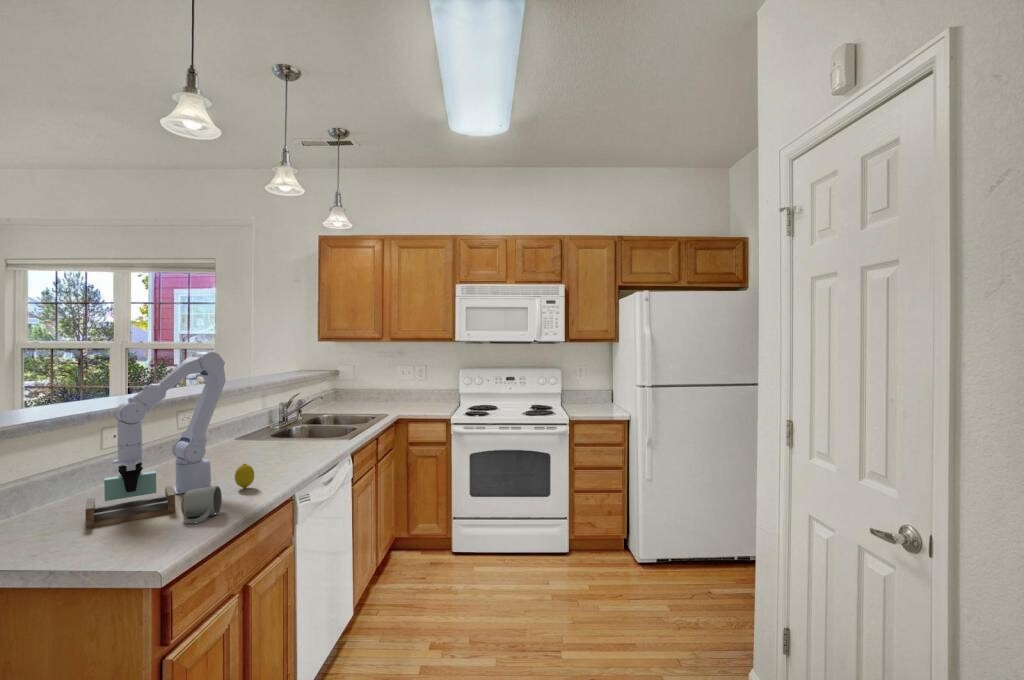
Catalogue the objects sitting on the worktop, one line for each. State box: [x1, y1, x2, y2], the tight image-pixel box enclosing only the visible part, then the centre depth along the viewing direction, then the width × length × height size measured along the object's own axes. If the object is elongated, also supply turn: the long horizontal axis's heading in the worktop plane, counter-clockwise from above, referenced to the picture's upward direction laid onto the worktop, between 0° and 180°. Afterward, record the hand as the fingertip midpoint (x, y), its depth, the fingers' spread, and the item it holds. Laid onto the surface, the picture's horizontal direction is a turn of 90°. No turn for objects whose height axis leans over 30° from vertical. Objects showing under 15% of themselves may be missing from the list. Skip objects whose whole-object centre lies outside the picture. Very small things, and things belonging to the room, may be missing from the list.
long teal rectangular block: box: [103, 470, 157, 502], centre depth 148 cm, size 12×3×6 cm, turn 128°
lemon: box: [234, 463, 255, 489], centre depth 161 cm, size 6×6×8 cm
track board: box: [85, 485, 176, 529], centre depth 138 cm, size 19×10×5 cm, turn 128°
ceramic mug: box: [180, 485, 223, 524], centre depth 136 cm, size 11×8×8 cm
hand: (130, 490), depth 148 cm, fingers closed on long teal rectangular block, 3 cm apart
